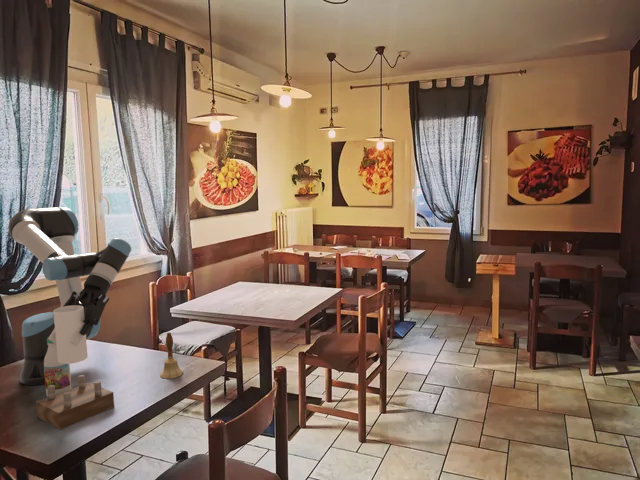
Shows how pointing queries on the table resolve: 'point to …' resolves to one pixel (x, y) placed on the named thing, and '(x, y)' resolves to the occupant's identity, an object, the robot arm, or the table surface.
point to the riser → (74, 404)
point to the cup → (69, 334)
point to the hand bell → (170, 362)
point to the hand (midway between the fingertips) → (62, 342)
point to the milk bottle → (56, 370)
